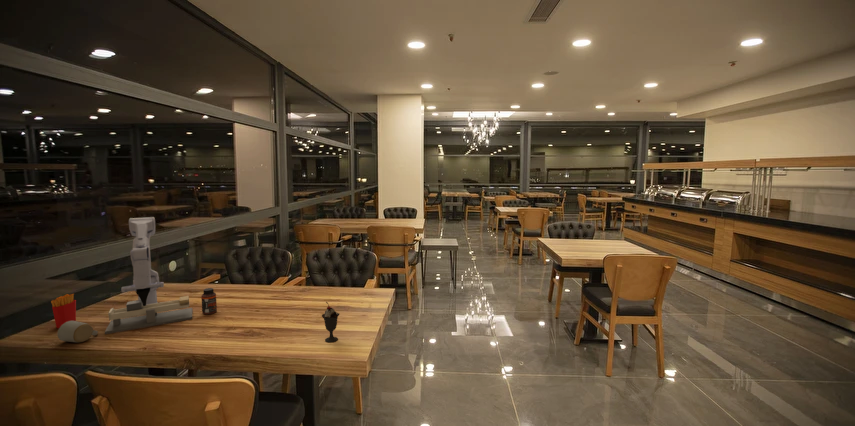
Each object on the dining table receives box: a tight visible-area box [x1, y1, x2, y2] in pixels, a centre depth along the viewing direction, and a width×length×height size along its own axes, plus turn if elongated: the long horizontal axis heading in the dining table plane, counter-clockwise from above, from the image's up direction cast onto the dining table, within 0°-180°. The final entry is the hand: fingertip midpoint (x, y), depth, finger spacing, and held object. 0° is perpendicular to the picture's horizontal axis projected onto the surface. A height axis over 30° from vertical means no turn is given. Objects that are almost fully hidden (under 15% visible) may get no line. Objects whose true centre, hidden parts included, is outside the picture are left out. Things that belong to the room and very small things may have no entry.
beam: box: [108, 295, 190, 321], centre depth 164 cm, size 7×28×4 cm, turn 122°
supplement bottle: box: [201, 287, 218, 315], centre depth 173 cm, size 6×6×11 cm
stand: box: [104, 303, 193, 335], centre depth 164 cm, size 14×30×6 cm, turn 122°
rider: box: [125, 299, 143, 311], centre depth 160 cm, size 4×5×4 cm
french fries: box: [50, 293, 77, 329], centre depth 159 cm, size 9×4×13 cm, turn 2°
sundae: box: [321, 301, 340, 343], centre depth 144 cm, size 7×7×15 cm
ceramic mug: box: [56, 320, 99, 344], centre depth 145 cm, size 11×8×8 cm
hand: (144, 305), depth 162 cm, fingers closed
